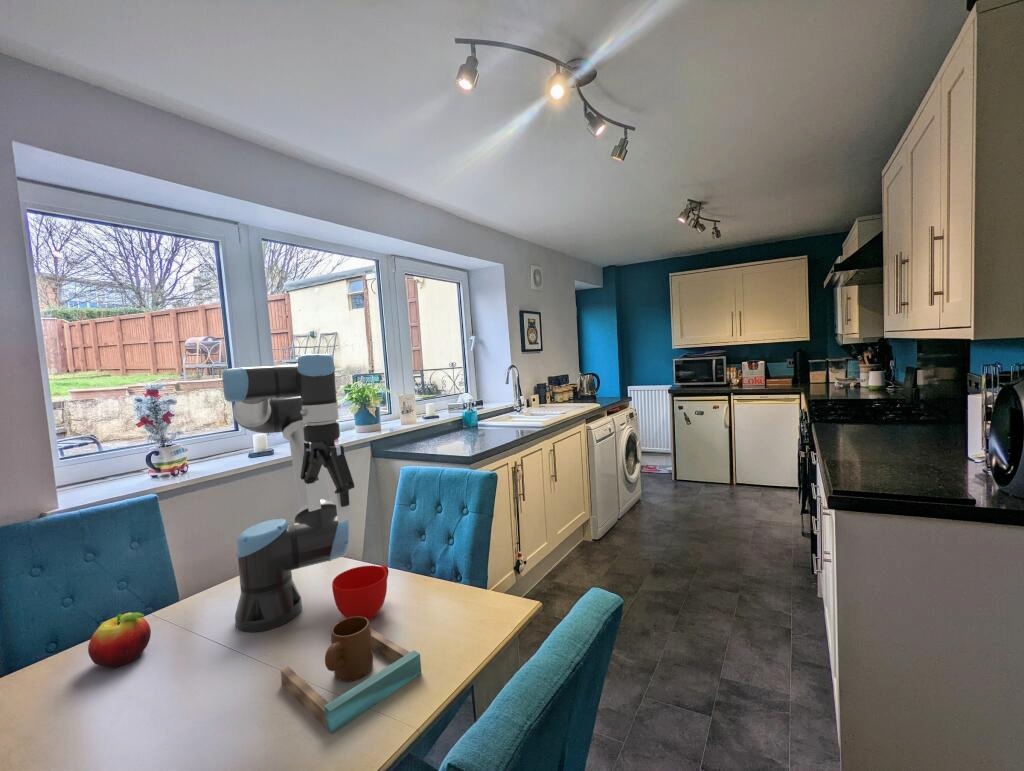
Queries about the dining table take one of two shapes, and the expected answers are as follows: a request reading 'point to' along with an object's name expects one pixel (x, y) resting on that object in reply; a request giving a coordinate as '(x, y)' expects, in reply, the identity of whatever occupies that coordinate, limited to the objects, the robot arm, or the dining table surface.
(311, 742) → the dining table surface
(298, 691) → the u-shaped wooden frame
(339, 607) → the red bowl
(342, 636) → the mug
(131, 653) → the fruit
